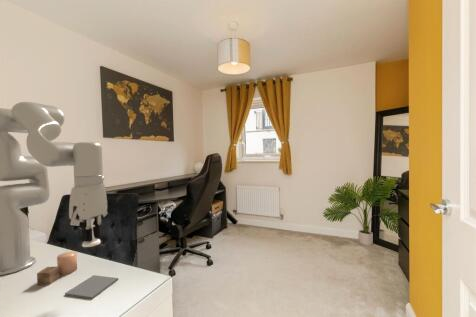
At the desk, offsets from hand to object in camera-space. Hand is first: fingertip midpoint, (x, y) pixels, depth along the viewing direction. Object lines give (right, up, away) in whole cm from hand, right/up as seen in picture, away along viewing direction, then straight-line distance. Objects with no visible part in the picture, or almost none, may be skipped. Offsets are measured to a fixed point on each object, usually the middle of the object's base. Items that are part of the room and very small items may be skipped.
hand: (91, 238), depth 70 cm
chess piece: (0, -2, 0) cm, 2 cm away
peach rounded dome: (-16, -16, +11) cm, 25 cm away
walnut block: (-17, -16, +4) cm, 24 cm away
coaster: (0, -15, 0) cm, 15 cm away
